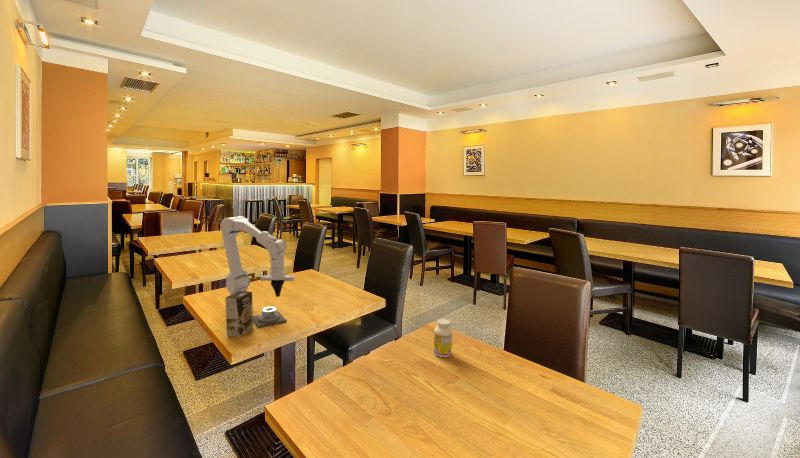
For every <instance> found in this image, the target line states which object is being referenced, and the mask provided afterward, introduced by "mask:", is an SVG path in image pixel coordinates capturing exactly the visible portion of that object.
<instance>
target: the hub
mask: <svg viewBox="0 0 800 458" xmlns="http://www.w3.org/2000/svg"><path fill="white" fill-rule="evenodd" d="M270 310H271V309H266V311H270ZM283 323H287V319H286V318H285V317H284V315H282V313H280V312H279V310H278V311H277V316H276V317H274V318H271V319H265V318H263V317H262V313H260V314H257V315H253V324H254V325H256V327H257V328H258V329H260V328H265V327H270V326H274V325H275V326H276V325H278V324H283Z"/></svg>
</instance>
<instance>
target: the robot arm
mask: <svg viewBox="0 0 800 458" xmlns="http://www.w3.org/2000/svg"><path fill="white" fill-rule="evenodd" d="M220 229H221V232H222V233H221V236H222V241H223V247H224V250H225V255H226V259H227V264H228V268H229V269H228V271H229V273H228V274H227V275H226V277H225V280H226V282H225V286H226V289H227V291H228V293H229V296H230V295H232V294H234V293H236V292H238V291H248V289H249V286H250V285H251V280H250V276H249V274H248V272H247V271H246V270H245V269H243V267H242V262H241V258H240V252H239V246H238V242H237V238H236V237H237V236H238V234H239V233H240V232H242V231H243V232H245V233H248V234H249V235H251V236H252V237H254V238H255V240H256V242H257V243H258V244H260V245H262V246H263V247H264V248H265V249H266V250H267V252H268V255H269V258H270V275H269V274H267V275H261V276H260V282H264V281H265V282H266V281H268V282H270V285H271V287H272V289H273V291H274V293H275V296H276V297H277V298H279V297H280V296H281V292H282V288H283V286H284V283H285V282H295V275H286V274H285V251H286V250H287V247H288V246H287V242H286V241H285V240H284V239H281V238H280V239H278V238H277V237H274V236H273V235H271V234H270V233H269V231H264V230H263V231H261V230H260V229H259V228H257V227H256V226H255V225H253V224H252V223H251V222H249V220H248V218H246V217H245V216H243V215H238V216H234V217H225V218H223V220H222V221H221V222H220Z"/></svg>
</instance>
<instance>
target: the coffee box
mask: <svg viewBox="0 0 800 458" xmlns="http://www.w3.org/2000/svg"><path fill="white" fill-rule="evenodd" d="M224 299H225V321H226V322H225V323H226V324H225V325H226V336H228V337H229V336H230V337H236V338H241V337H243V336H244V335H245V334H247V333H248V332H250V331H251V330H253V329H254V321H253V316H254V314H253V313H254V312H253V309H254V307H253V306H254V305H253V292H252V291H249V290H247V291H238V292H236V293H234V294H232V295H230V294H229V295H228V296H226V297H224Z"/></svg>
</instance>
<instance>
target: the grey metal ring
mask: <svg viewBox="0 0 800 458" xmlns="http://www.w3.org/2000/svg"><path fill="white" fill-rule="evenodd" d="M266 309H271V310H270V311H266ZM261 314H262V317H263V318H265V319H271V318H274V317H276V316H277V308H276V306H266V307H263V308H262V309H261Z"/></svg>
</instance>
